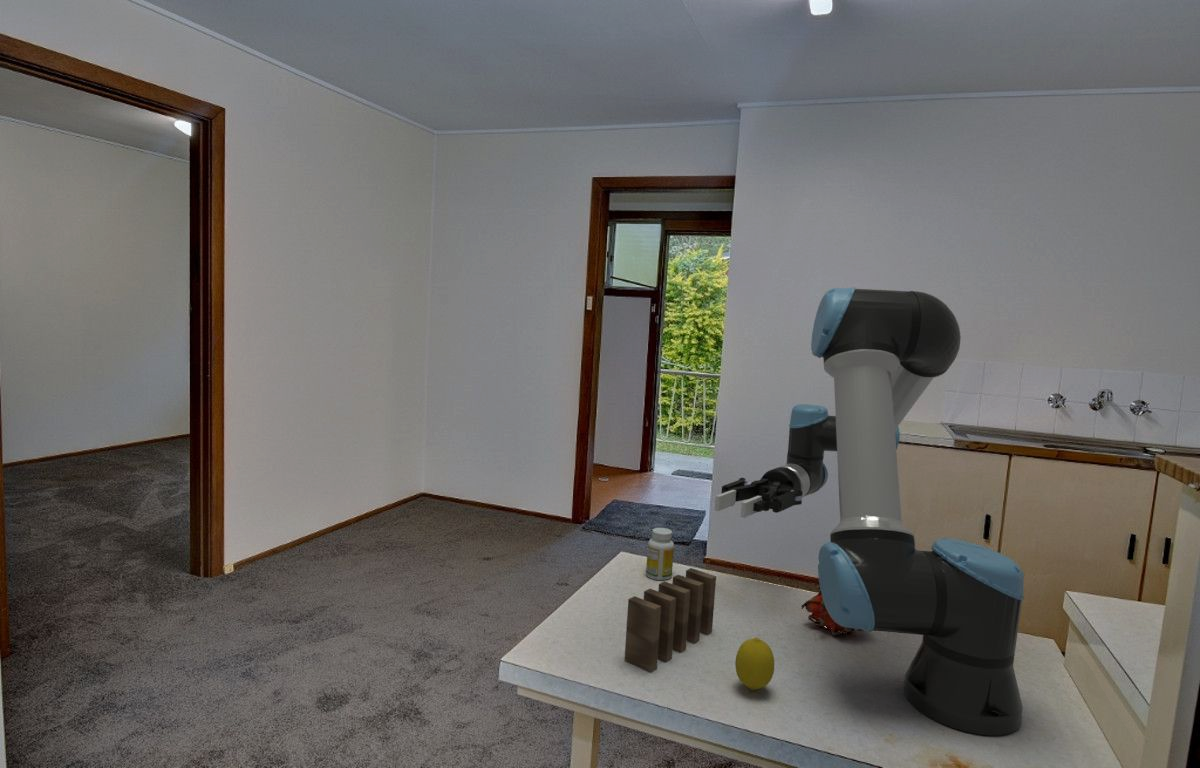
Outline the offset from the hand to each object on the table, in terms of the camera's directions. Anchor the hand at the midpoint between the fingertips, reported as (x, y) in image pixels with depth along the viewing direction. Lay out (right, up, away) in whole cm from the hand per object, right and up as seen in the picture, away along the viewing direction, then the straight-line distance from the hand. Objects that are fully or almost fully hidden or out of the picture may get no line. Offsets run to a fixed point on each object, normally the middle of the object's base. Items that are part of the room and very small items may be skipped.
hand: (729, 506), depth 124 cm
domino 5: (-7, -20, -4) cm, 22 cm away
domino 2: (-14, -21, -14) cm, 29 cm away
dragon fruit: (+18, -22, -2) cm, 28 cm away
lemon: (-1, -23, -23) cm, 32 cm away
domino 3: (-12, -21, -11) cm, 26 cm away
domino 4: (-9, -21, -8) cm, 24 cm away
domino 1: (-17, -21, -18) cm, 32 cm away
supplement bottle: (-11, -18, +18) cm, 28 cm away
